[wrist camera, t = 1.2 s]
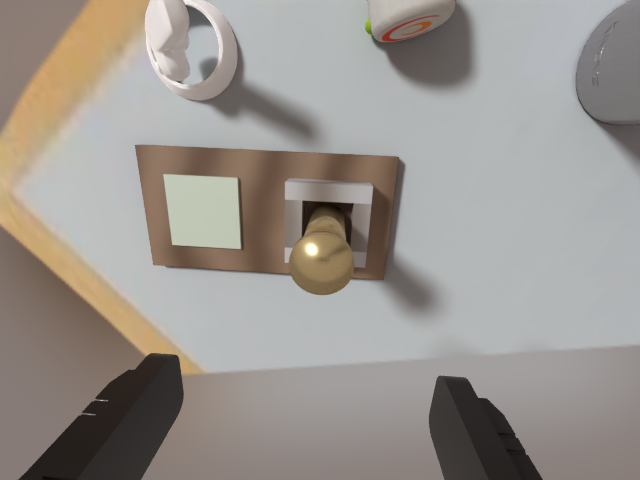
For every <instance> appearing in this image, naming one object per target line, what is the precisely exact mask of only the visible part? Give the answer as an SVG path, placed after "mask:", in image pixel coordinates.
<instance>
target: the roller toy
mask: <svg viewBox="0 0 640 480" xmlns="http://www.w3.org/2000/svg"><path fill="white" fill-rule="evenodd" d="M367 1H368V9H369V17H370V18H369V19H368V20H367V22H366V26H365V29H366V31H367V33H369V34H371V35H373V37H374V38H375V39H376V40H377V41H380V42H397V41H402V40H406V39H410V38H413V37H416V36H419V35H421V34H424V33H426V32H428V31H431V30H433V29H435V28H436V27H438V26H440V25H441V24H443V23H444V22H446V21H447V20H448V19H449V18H450V16H451V15H452V14H453V12H454V10H455V5H456V3H455V0H367Z"/></svg>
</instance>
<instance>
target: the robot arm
mask: <svg viewBox="0 0 640 480" xmlns="http://www.w3.org/2000/svg"><path fill="white" fill-rule="evenodd" d="M576 88H577V92H578V96H579V100H580V101H581V103H582V105H583V107H584V109H585V110H586V111H587V112H588V113H589V114H590V115H591V116H592V117H594V118H596V119H598V120H599V121H601V122H605V123H608V124H612V125H632V124H640V0H630V1H628V2H626V3H625V4H623V5H622V6H620V7H619V8H617V9H616V10H614V11H613V12H612V13H611V14H610V15H608V16H607V17H606V18H605V19H604V20H603V21H602V22H601V23H600V24H599V26H598V27H597V28H596V29H595V31H594V32H593V33H592V34H591V36H590V38H589V40H588V41H587V43H586V45H585V46H584V49H583V51H582V54H581V56H580V59H579V62H578V67H577V73H576ZM183 395H184V393H183V384H182V377H181V369H180V362H179V358H178V356H177V355H172V354H158V353H151V354H149V355H148V356H147V357H146V358H145V359H144V360H143V361H142V362H141V363H140V364H139V366H138V367H137V368H136V369H135V370H128V371H126V372H125V373H123V374H122V375H120V376H119V377H117V378H116V379H114V380H113V381H111V382H110V383H109V384H108V385H107V386H106V387H105V388H104V389H103V390H102V391H101V392H100V394H99V395H98V396H97V397H96V398H95V401H94V402H91V403H90V404H89V405H88V406H87V408H85V410H84V411H83V412H82V415H81V416H78V417H77V418H76V419H75V420H74V421H73V423H71V425H70V426H69V427H68V428H67V429H66V430H65V431H64V432H63V433H62V434H61V435H60V436H59V437H58V438H57V440H56V441H55V442H54V443H53V444H52V445H51V446H50V447H49V448H48V449H47V450H46V451H45V453H44V454H43V455H42V456H41V457H40V458H39V459H38V460H37V461H36V462H35V463H34V464H33V465H32V466H31V467H30V468H29V470H28V471H27V472H26V473H25V474H24V475H23V476H22V477H21V478H20V479H19V480H141V479H142V477H143V475H144V473H145V472H146V470H147V468H148V466H149V465H150V463H151V461H152V459H153V458H154V456H155V454H156V453H157V451H158V449H159V447H160V446H161V444H162V442H163V440H164V439H165V437H166V435H167V433H168V431H169V430H170V428H171V427H172V425H173V423H174V421H175V420H176V418H177V416H178V414H179V412H180V409H181V406H182V403H183ZM429 427H430V433H431V438H432V440H433V444H434V447H435V450H436V454H437V457H438V460H439V462H440V466H441V469H442V473H443V476H444V479H445V480H542V478H541V476H540V474H539V473H538V471H537V470H536V468H535V466H534V465H533V463H532V461H531V460H530V458H529V456H528V455H526V453H525V449H524V448H523V447H522V445H521V443H520V441H519V440H518V438H516V437H515V433H514V431H513V430H512V428H511V426H510V425H509V423H508V421H507V420H506V418H505V416H504V415H503V414H502V413H501V412H500V411H499V410H498V409H497V408H496V407H495V406H494V405H493V404H492V403H491V402H490V401H489V400H488V399H485V398H478V397H477V395H476V393H475V391H474V390H473V388H472V386H471V384H470V382H469V381H468V379H466V378H464V377H450V376H439V377H438V378H437V381H436V385H435V390H434V394H433V399H432V404H431V408H430V413H429Z"/></svg>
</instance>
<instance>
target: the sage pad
mask: <svg viewBox="0 0 640 480" xmlns="http://www.w3.org/2000/svg"><path fill="white" fill-rule="evenodd" d="M163 176H164V184H165V192H166V200H167V207H168V215H169V223H170V231H171V239H172V245H181V246H197V247H214V248H230V249H241V248H242V244H241V223H240V201H239V180H238V178H234V177H214V176H194V175H174V174H163Z"/></svg>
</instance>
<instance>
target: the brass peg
mask: <svg viewBox="0 0 640 480" xmlns="http://www.w3.org/2000/svg"><path fill="white" fill-rule="evenodd" d="M289 271H290V274H291V276H292V278H293V280H294V281H295V283H296V284H297V285H298V286H299V287H300V288H302V289H303V290H305V291H307V292H309V293H312V294H316V295H328V294H333V293H335V292H337V291H339V290H341V289H342V288H344V287H345V286H346V285H347V284H348V283H349V281H350V280H351V278H352V276H353V272H354V257H353V252H352V250H351V247H350V246H349V244H348V243H347V242H346V233H345V219H344V214H343V211H342V210H341V209H340V208H339V207H338V206H337V205H335V204H333V203H323V204H320V205H318V206H317V207H316V208H315V209H314V210H313V212H312V215H311V218H310V220H309V223H308V226H307V229H306V232H305V234H304V236H303V237H301V238H300V239H299V240H298V241H297V242H296V244H295V245H294V247H293V249H292V252H291V254H290V257H289Z"/></svg>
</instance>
